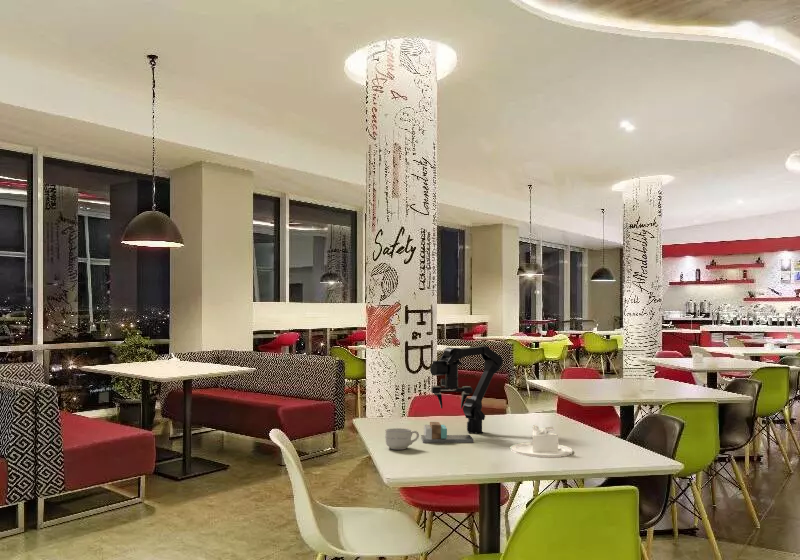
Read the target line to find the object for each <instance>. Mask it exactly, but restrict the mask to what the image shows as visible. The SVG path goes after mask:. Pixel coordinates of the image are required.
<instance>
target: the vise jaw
mask: <svg viewBox="0 0 800 560" xmlns="http://www.w3.org/2000/svg"><path fill="white" fill-rule="evenodd" d="M447 435H448V428H447V427H446V425H445V424H441V439H447Z"/></svg>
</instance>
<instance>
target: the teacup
mask: <svg viewBox="0 0 800 560" xmlns="http://www.w3.org/2000/svg"><path fill="white" fill-rule="evenodd" d="M413 434H416V437H415V438H414V439H412V437H413ZM419 438H420V433H419V431H417V430H411V429H410V428H401V427H400V428H398V427H396V428H394V427H393V428H386V429H385V444H386V447H389V449H391V450H399V451H400V450H406V449H407V448H408V447H409V446H411V445H412V444H413V443H414V442H416V441H417V440H418V439H419Z"/></svg>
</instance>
